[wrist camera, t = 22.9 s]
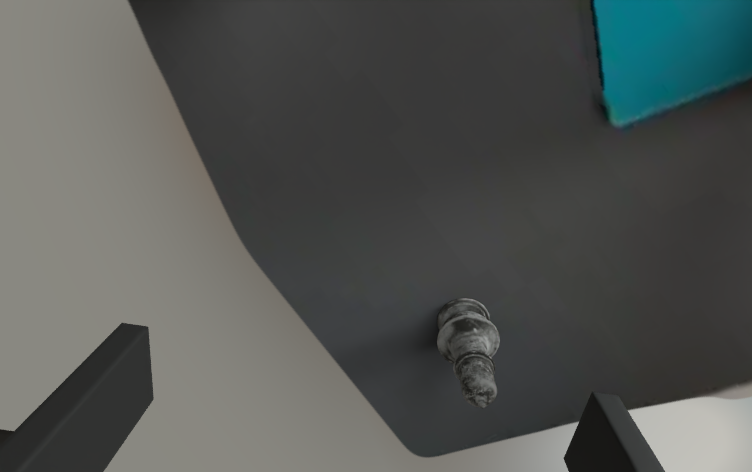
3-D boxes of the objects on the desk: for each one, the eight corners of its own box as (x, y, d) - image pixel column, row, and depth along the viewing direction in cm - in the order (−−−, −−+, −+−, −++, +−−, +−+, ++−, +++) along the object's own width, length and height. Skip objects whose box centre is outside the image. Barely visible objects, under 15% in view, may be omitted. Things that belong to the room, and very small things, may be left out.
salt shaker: (463, 353, 47) (482, 447, 36) (422, 322, 46) (429, 409, 35) (504, 318, 46) (538, 406, 35) (463, 284, 44) (483, 364, 33)
